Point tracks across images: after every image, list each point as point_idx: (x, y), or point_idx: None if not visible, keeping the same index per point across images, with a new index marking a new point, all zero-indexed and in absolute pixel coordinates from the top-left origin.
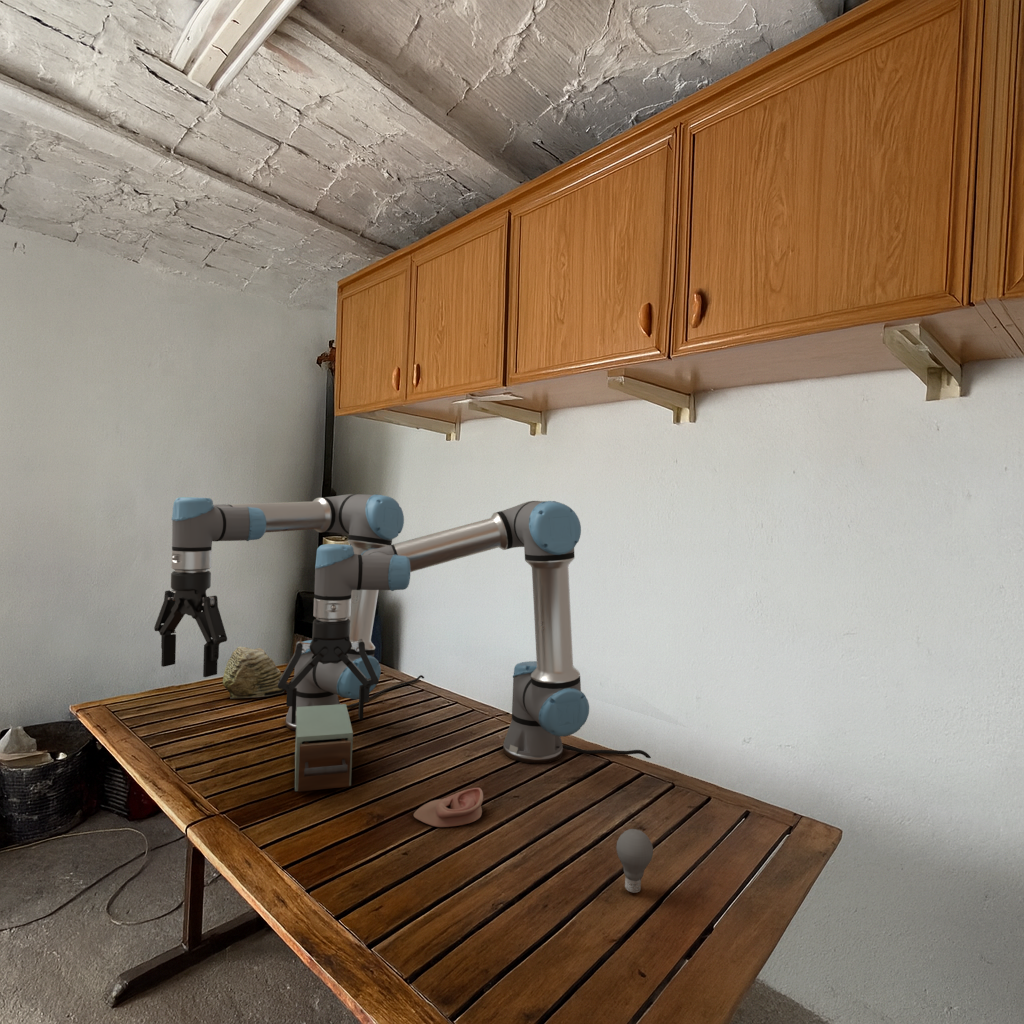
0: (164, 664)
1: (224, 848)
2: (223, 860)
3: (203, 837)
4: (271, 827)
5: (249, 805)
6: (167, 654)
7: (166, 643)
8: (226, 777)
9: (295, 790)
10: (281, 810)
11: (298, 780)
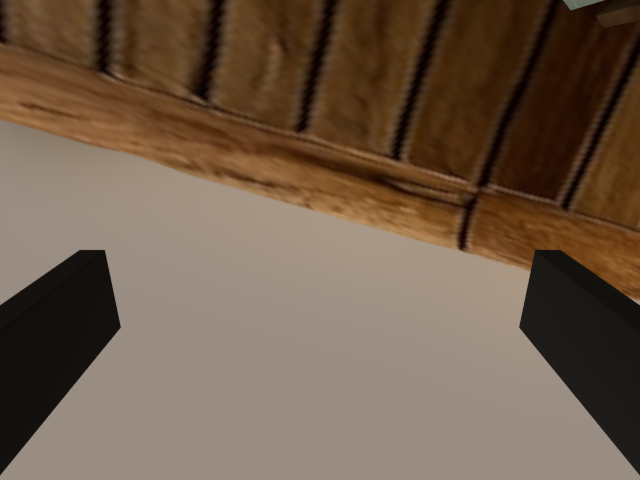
0: (113, 330)
1: None
2: None
3: (520, 261)
4: (619, 170)
5: (512, 129)
6: (71, 354)
7: (5, 440)
8: (348, 54)
9: (573, 9)
10: (596, 106)
11: (618, 17)
